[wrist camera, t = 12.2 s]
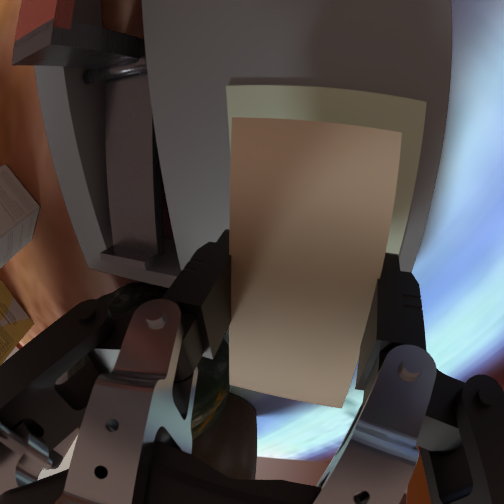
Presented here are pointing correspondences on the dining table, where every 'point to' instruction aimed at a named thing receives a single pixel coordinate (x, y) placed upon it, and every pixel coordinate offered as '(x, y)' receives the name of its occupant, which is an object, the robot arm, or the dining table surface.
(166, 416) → the robot arm
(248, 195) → the slab
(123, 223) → the tip lever
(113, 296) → the squash
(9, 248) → the supplement box
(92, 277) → the dining table surface
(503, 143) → the dining table surface
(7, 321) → the pasta box
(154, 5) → the pocket board
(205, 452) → the plant pot
